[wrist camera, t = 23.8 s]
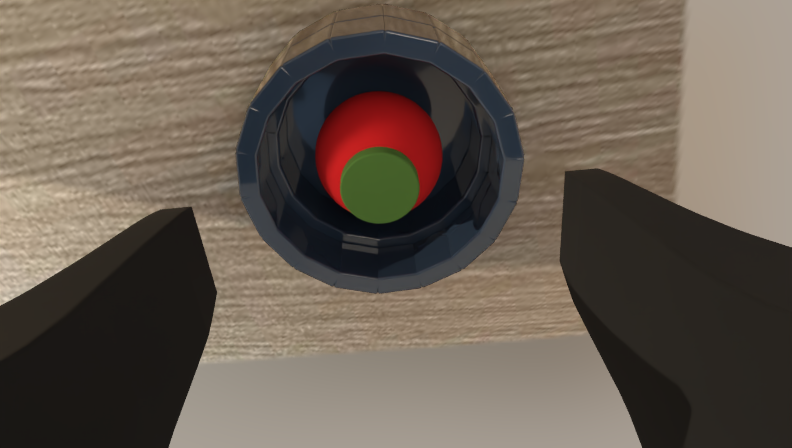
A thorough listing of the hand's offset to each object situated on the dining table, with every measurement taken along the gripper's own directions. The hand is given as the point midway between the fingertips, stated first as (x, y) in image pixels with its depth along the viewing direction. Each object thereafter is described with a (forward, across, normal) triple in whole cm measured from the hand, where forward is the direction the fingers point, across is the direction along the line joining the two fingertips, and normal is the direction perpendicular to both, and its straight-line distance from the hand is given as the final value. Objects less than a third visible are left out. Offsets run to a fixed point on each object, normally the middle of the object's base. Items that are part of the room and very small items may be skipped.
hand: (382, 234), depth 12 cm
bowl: (+6, 0, 0) cm, 6 cm away
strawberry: (+6, 0, 0) cm, 6 cm away
